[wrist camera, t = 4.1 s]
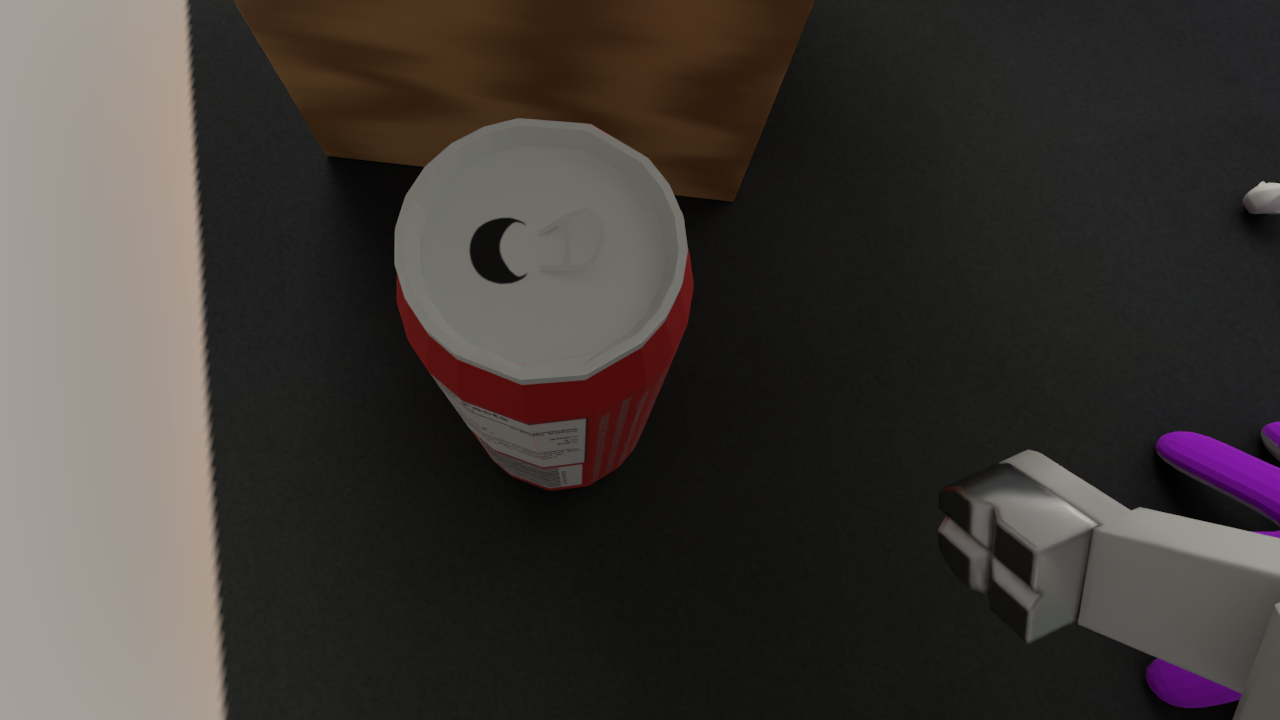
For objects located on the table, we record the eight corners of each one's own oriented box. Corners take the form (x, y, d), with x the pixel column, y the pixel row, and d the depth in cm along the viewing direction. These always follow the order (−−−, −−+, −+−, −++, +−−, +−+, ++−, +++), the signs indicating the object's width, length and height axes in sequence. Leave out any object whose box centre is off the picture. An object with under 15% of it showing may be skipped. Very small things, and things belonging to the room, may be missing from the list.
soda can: (636, 326, 24) (689, 89, 12) (652, 484, 22) (731, 379, 11) (474, 335, 23) (372, 96, 12) (478, 499, 21) (362, 406, 10)
